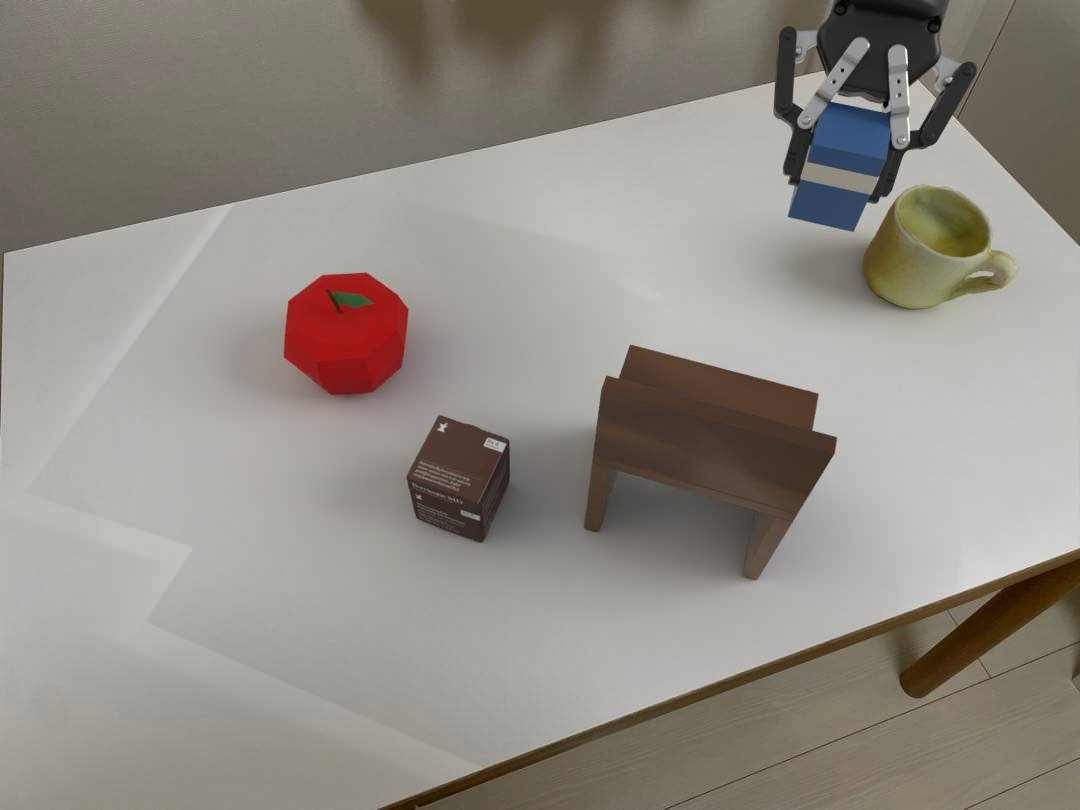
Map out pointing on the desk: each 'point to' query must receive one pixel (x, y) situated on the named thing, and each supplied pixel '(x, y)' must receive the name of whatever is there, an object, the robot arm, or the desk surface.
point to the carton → (841, 166)
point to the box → (460, 478)
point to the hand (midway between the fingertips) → (832, 192)
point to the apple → (346, 332)
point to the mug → (934, 250)
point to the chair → (710, 441)
